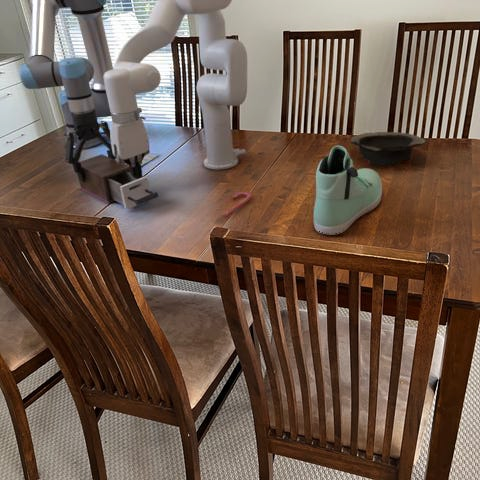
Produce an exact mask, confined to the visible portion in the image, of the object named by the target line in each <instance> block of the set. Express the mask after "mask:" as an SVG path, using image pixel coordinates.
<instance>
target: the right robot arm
mask: <svg viewBox="0 0 480 480" xmlns="http://www.w3.org/2000/svg"><path fill="white" fill-rule="evenodd" d="M232 1H233V0H156V1H155V3H154V6H153V7H152V10H151V12H150V15H149V17H148V19H147V21H146V23H145V25H144V26H143V27H142V28H140V29H139V30H138V31H137V32H136V33H135V34H134V35H132V36H131V37H130V38H129V40H127V42H126V43H125V44H123V46H122V47H121V49H120V50H119V53H118V55H117V57H116V59H115V62H114V64H113V70H109V71H107V72H105V73H104V76H103V78H104V84H105V89H106V93H107V98H108V103H109V107H110V112H111V116H110V117H111V123H109V129H110V138H111V142H110V144H111V146H112V152H113V155H114V156H115V157H116V159H115V160H116V162H117V163H119V164H125V163H126V164H127V165H129V167H130V172H131V175H132V177H134V178H136V179H139V178H142V177H143V169H142V166H141V164H142V160H143V158H144V156H146V155H147V154H151V153H150V141H149V137H148V133H147V129H146V125H145V124H144V120H143V119H141V118H140V117H141V116H140V114H141V113H142V112H143V109H142V108H141V107H138V101H137V95H139V94H147V93H148V94H149V93H151V92H154V91H155V90H157V88H158V87H159V86H160V84H161V81H162V80H161V78H162V77H161V73H160V71H159V70H158V68H157V67H156V66H154V65H152V64H149V63H141V62H142V61H143V60H144V59H145V58H146V57H147V56H149V55H150V54H152V53H154V52H156V51H158V50H160V49H161V50H162V48H165V47H168V46H169V45H170V44H171V43H173V41H174V40H175V38H176V35H177V33H178V31H179V28H180V27H181V24H182V22H183V20H184V17H185V16H186V15H194V16H195V18H196V22H197V26H198V40H199V41H198V42H199V58H200V63H201V65H202V67H203V68H204V69H205V68H206V69H209V70H214V71H225V72H226V74H223V73H206V74H202V75H201V76H200V77H199V78H198V80H197V83H196V94H197V98H198V101H199V104H200V109H201V113H202V121H203V130H204V139H205V149H206V150H205V151H206V158H205V159H204V160H203V166H204V168H206V169H209V170H213V171H217V170H218V171H221V170H222V171H223V170H226V169H231V168H233V167H235V166H237V165H238V163H239V158H238V157H239V156H243V155H246V154H247V151H246V149H245V148H242V149H240V148H239V147H238V148H235V149H234V146H233V133H232V120H231V114H230V113H231V112H230V110H229V107H228V106H230V107H238V106H241V105H243V103H245V101H246V98H247V94H248V52H247V49H246V47H245V45H244V43H243V42H242V41H240V40H239V39H236V38H235V39H234V38H227V35H226V22H225V17H224V15H223V12H222V11H221V10H224V9H227V8H228V7H229V6H230V5H231V3H232ZM133 158H134V159H133Z"/></svg>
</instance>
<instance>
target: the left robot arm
mask: <svg viewBox="0 0 480 480" xmlns="http://www.w3.org/2000/svg"><path fill="white" fill-rule="evenodd" d="M107 2H108V0H29V1H28V5H29V8H30V9H29V10H30V11H31V18H30V19H31V20H30V21H31V22H30V33H29V34H30V36H29V50H28V51H29V52H28V63H25V64H21V65H20V67H19V69H18V73H19V78H20V82H21V84H22V85H23V87H24V88H25V89H28V90H41V89H47V88H56V87H63V90H61V91H60V92H59V94H58V99H59V105H60V108H61V113H62V116H63V119H64V123H65V126H66V131H65V133H63V137H65V144H66V146H65V147H66V148H65V158H64V159H65V160H64V161H65V163H67V164H69V165H72V168H73V171H74V173H75V174H77V173H78V175H77V178H78V177H79V179H78V181H79V180H80V181H82V182H85V178H84V174H83V170H82V166H81V163H79V162H80V161H79V160H80V158H81V155H82V151H83V150H85V149H92V148H94V147H97V146H99V145H104V146H105V147H106V148H107V149H108V150H106V153H107V157H109V158H112V159H114V160H116V157H115V156H114V155H113V152H112V146H111V138H110V126H109V123H108V122H107V121H106V120H101V121H100V122H98V119H99V118H107V117H108V118H109V117H111V112H110V107H109V103H108V98H107V93H106V89H105V84H104V78H103V76H104V73H105V72H107V71H109V70H113V67H114V64H113V62H112V57H111V53H110V48H109V45H108V43H109V42H108V39H107V34H106V30H105V26H104V21H103V16H102V14H103V12H104V11H105V5H107ZM68 8H70V11H71V14H72V15H73V16H75V17H76V18H77V21H78V25H79V29H80V33H81V37H82V41H83V45H84V49H85V53H86V56H87V58H86V57H82V56H80V57H76V56H75V57H66V58H62V59H60V60H58V61H55V40H56V38H55V37H56V16H57V15H58V14H59V12H60V9H68ZM91 81H92V82H91ZM90 82H91V83H90ZM139 117H140V118H141V119H142V120H143V121H146V119H147V118H146V117H144V116H139ZM101 129H102V131H101ZM103 135H105V136H106V138H107V139H108V140H107V139H106V138H105V137H104V136H103Z"/></svg>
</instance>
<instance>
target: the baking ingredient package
mask: <svg viewBox="0 0 480 480" xmlns="http://www.w3.org/2000/svg"><path fill="white" fill-rule="evenodd" d="M158 156H159V154H151V153H149V154H147V155H146V156H144V158H143V160H142V164H141V167H142V166H143V165H145V164H147V163H148V162H150V161H153V160H154V159H156V158H157V157H158ZM133 159H134V158H133ZM125 164H126V163H125ZM126 165H127V164H126ZM128 166H129V165H128Z"/></svg>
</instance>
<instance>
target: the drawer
mask: <svg viewBox="0 0 480 480" xmlns="http://www.w3.org/2000/svg"><path fill="white" fill-rule="evenodd" d="M106 183H107V187H108V191H109V195H110V198H112V199H113V200H115V202H117V203H119V204H121V205H122V206H123V208H124V209H125V210H129V209H131V208H133V207H135V206H137V207H138V206H140V205H143V204H146V203H147V202H149V201H152V200H154V199H157V198H159V193H158V192H157V191H155V192H154V191H151V190H150V186H149V185H150V184H149V180H148V177H147V176H142V178H139V179H136V178H134V177H132V175H131V173H130V172H128V171H125V172H122V173H120V174H117V175H114V176H112V177H109V178H107V179H106Z"/></svg>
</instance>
